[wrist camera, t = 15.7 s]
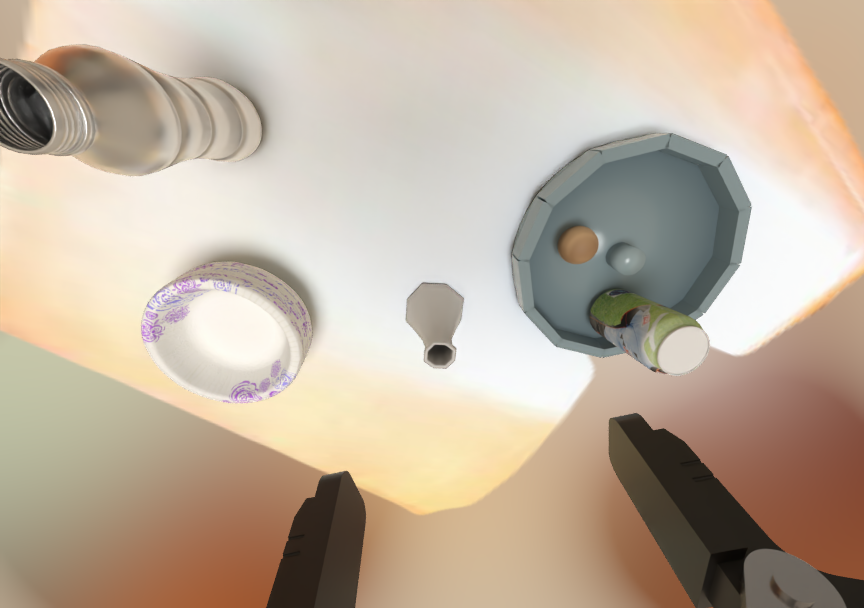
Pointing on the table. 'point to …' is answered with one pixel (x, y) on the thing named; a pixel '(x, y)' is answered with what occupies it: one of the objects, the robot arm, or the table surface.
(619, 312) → the beverage can
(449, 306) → the flask
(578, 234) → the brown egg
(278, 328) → the paper bowls
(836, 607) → the robot arm
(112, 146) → the plastic bottle
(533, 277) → the tray
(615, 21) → the table surface
